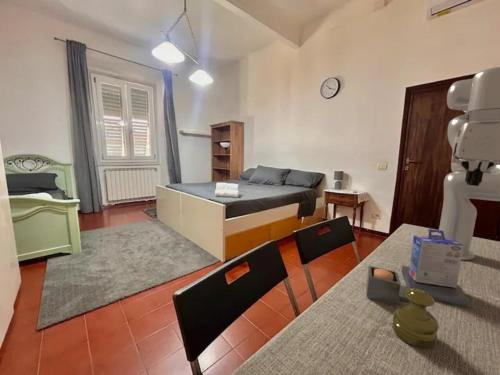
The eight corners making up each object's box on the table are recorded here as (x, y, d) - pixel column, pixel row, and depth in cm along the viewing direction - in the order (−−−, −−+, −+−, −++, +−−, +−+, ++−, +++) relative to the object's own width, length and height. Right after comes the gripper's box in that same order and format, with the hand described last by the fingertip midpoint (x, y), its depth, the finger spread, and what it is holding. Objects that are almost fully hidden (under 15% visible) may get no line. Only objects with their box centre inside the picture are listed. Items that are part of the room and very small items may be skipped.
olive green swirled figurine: (441, 339, 45) (450, 295, 44) (426, 356, 41) (434, 308, 40) (401, 316, 51) (407, 277, 50) (384, 329, 47) (390, 286, 46)
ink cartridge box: (445, 277, 65) (454, 230, 62) (458, 289, 59) (467, 237, 57) (407, 272, 67) (413, 226, 65) (415, 282, 62) (423, 233, 59)
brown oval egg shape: (371, 285, 62) (373, 267, 61) (389, 290, 60) (392, 271, 59) (372, 294, 58) (374, 275, 57) (392, 299, 56) (394, 279, 55)
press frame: (365, 263, 76) (367, 246, 75) (449, 281, 66) (452, 262, 65) (366, 297, 58) (369, 276, 57) (483, 329, 48) (488, 304, 47)
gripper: (454, 117, 60) (443, 184, 63) (534, 114, 54) (517, 189, 57) (444, 121, 67) (435, 181, 70) (515, 119, 60) (501, 185, 63)
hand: (472, 185), depth 63 cm, fingers closed
